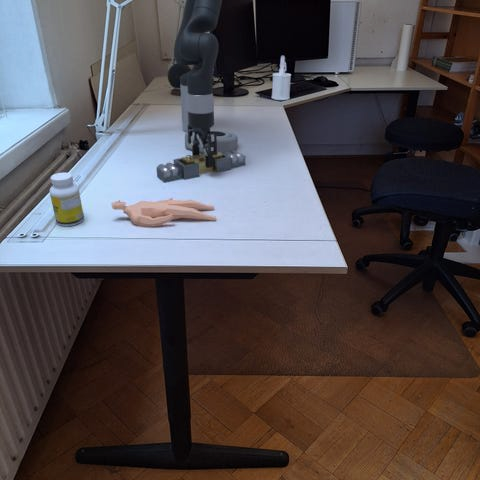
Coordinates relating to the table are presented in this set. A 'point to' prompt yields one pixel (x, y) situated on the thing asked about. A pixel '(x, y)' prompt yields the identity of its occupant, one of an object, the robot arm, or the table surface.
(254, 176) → the table surface
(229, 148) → the turbocharger housing
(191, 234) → the table surface
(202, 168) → the brass block with pins
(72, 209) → the pill bottle
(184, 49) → the robot arm
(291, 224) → the table surface
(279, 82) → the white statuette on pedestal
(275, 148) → the table surface
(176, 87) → the dark grey lump
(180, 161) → the chain ends
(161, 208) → the male figurine
